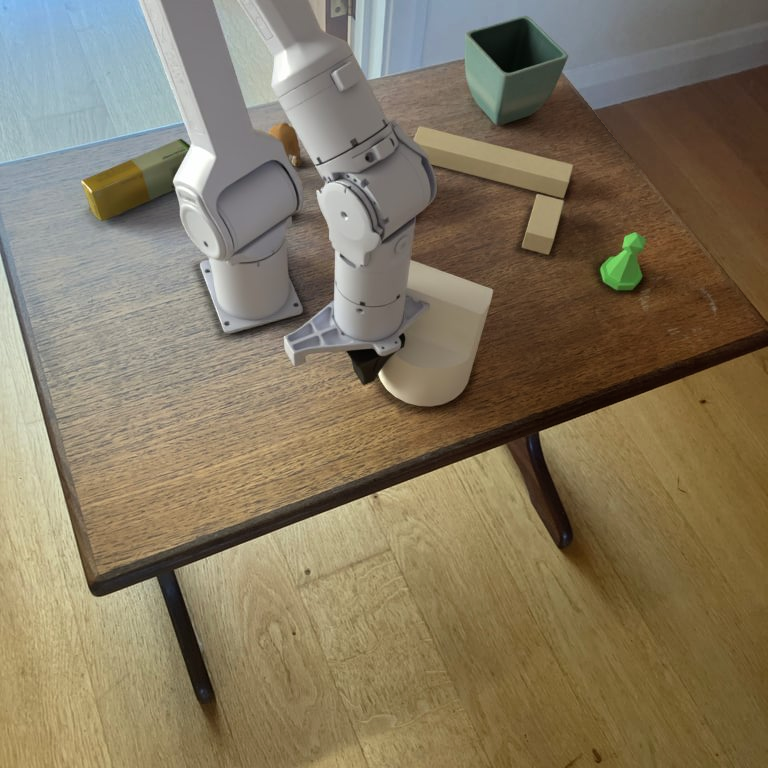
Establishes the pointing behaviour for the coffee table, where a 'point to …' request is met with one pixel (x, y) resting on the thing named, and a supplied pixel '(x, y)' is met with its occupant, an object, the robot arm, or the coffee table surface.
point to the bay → (506, 176)
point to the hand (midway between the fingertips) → (364, 375)
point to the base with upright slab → (438, 338)
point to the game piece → (624, 264)
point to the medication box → (134, 180)
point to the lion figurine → (288, 142)
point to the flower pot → (512, 68)
